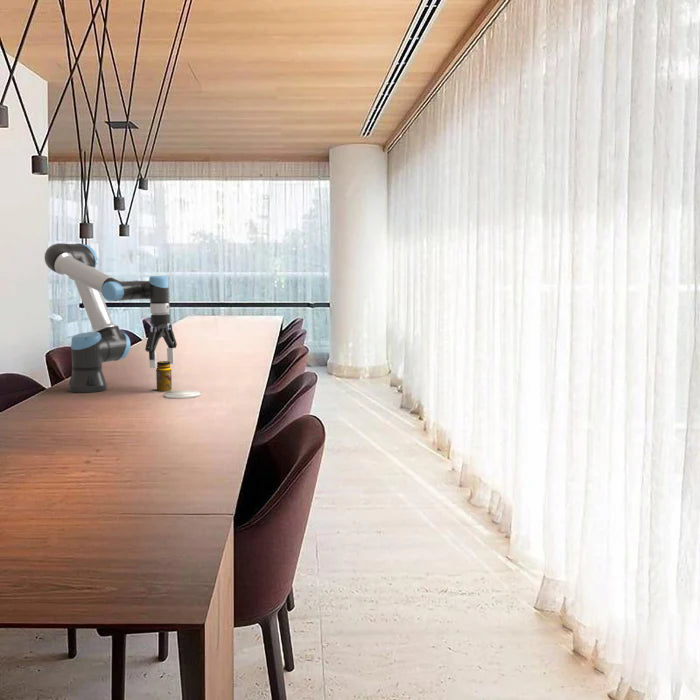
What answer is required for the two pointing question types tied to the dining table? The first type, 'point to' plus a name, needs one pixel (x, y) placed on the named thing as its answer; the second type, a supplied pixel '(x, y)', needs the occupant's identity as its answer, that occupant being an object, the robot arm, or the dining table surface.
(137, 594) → the dining table surface
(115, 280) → the robot arm
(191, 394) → the plate
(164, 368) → the condiment
